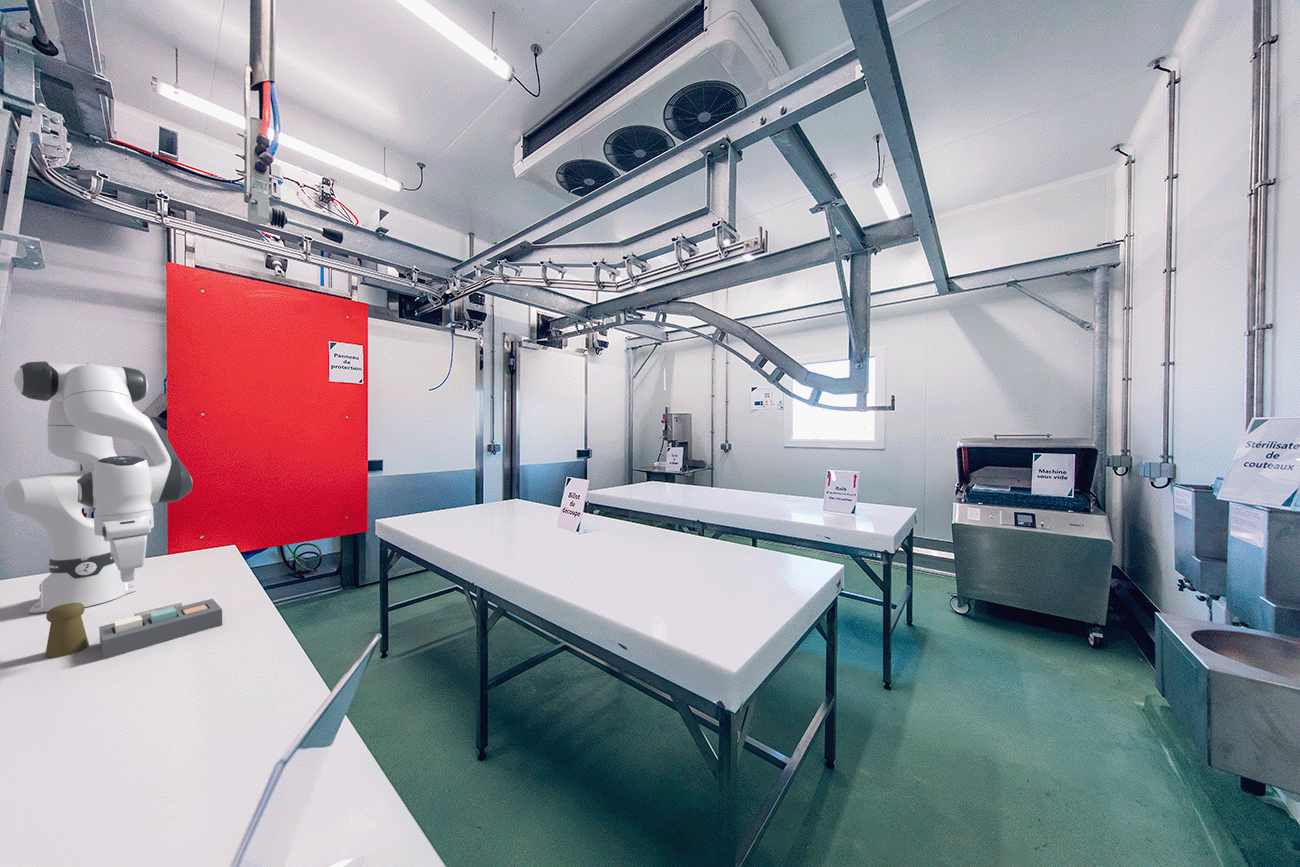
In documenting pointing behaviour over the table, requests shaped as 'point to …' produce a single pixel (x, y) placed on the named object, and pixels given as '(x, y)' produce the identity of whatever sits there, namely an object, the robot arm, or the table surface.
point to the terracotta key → (194, 609)
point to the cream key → (128, 623)
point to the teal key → (162, 615)
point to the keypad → (159, 628)
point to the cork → (66, 630)
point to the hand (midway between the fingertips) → (127, 580)
